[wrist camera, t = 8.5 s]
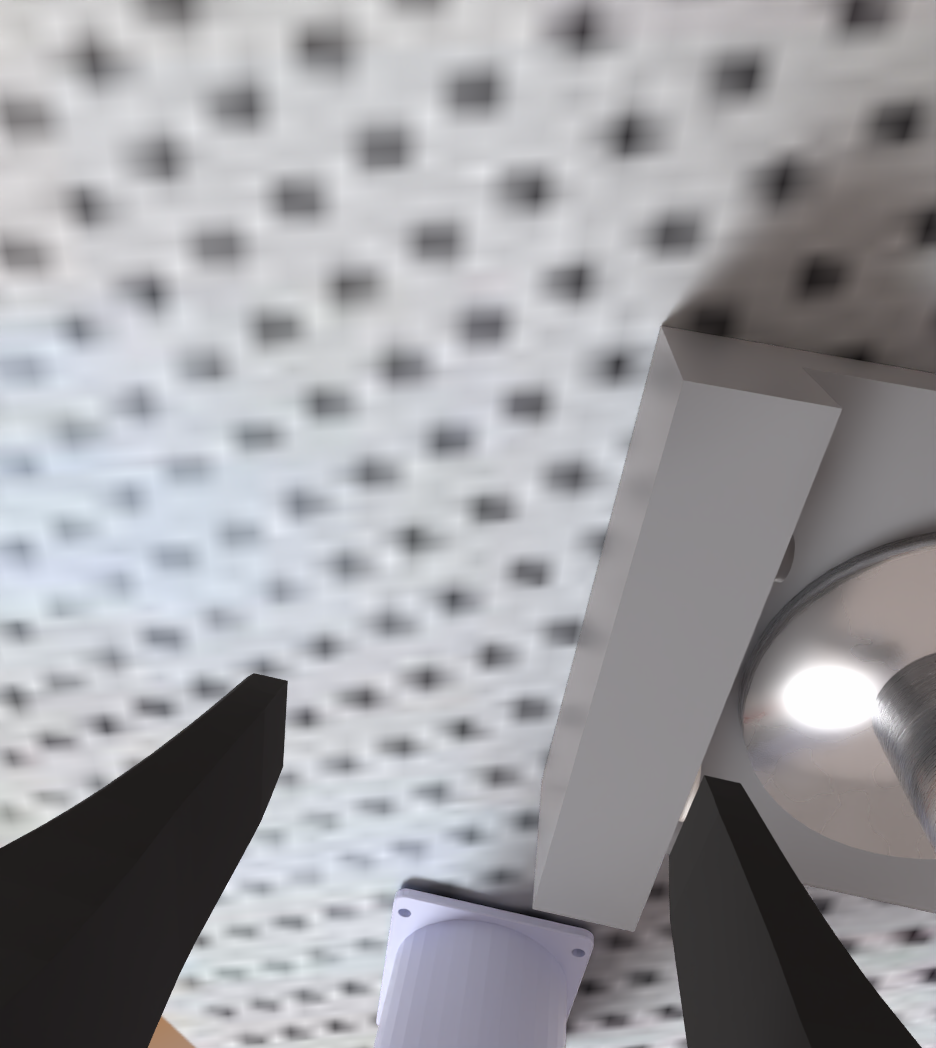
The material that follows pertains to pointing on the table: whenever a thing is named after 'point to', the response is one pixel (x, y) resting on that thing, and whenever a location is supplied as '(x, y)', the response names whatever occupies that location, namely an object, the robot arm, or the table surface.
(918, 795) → the cylinder
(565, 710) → the scale
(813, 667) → the pan
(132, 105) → the table surface
